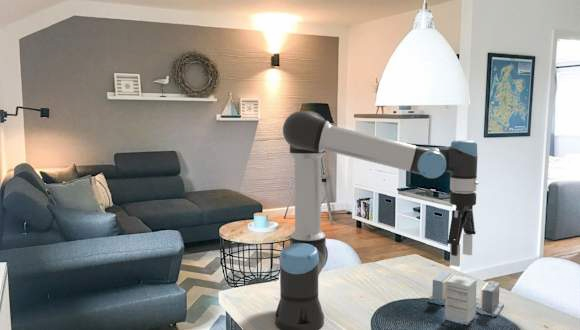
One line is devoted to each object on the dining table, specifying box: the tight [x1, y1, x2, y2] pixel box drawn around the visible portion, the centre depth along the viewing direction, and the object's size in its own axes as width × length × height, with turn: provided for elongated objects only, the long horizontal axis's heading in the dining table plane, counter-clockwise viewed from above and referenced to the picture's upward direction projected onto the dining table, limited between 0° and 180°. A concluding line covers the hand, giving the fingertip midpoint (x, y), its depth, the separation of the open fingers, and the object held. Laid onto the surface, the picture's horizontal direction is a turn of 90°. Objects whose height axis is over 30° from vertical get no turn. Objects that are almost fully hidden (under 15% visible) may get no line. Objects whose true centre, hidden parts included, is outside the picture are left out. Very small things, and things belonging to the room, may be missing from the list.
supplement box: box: [444, 274, 477, 322], centre depth 149 cm, size 7×7×13 cm
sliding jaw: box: [431, 271, 453, 300], centre depth 165 cm, size 10×4×7 cm, turn 145°
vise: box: [428, 280, 505, 316], centre depth 161 cm, size 11×22×8 cm, turn 55°
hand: (461, 259), depth 148 cm, fingers open, 13 cm apart
